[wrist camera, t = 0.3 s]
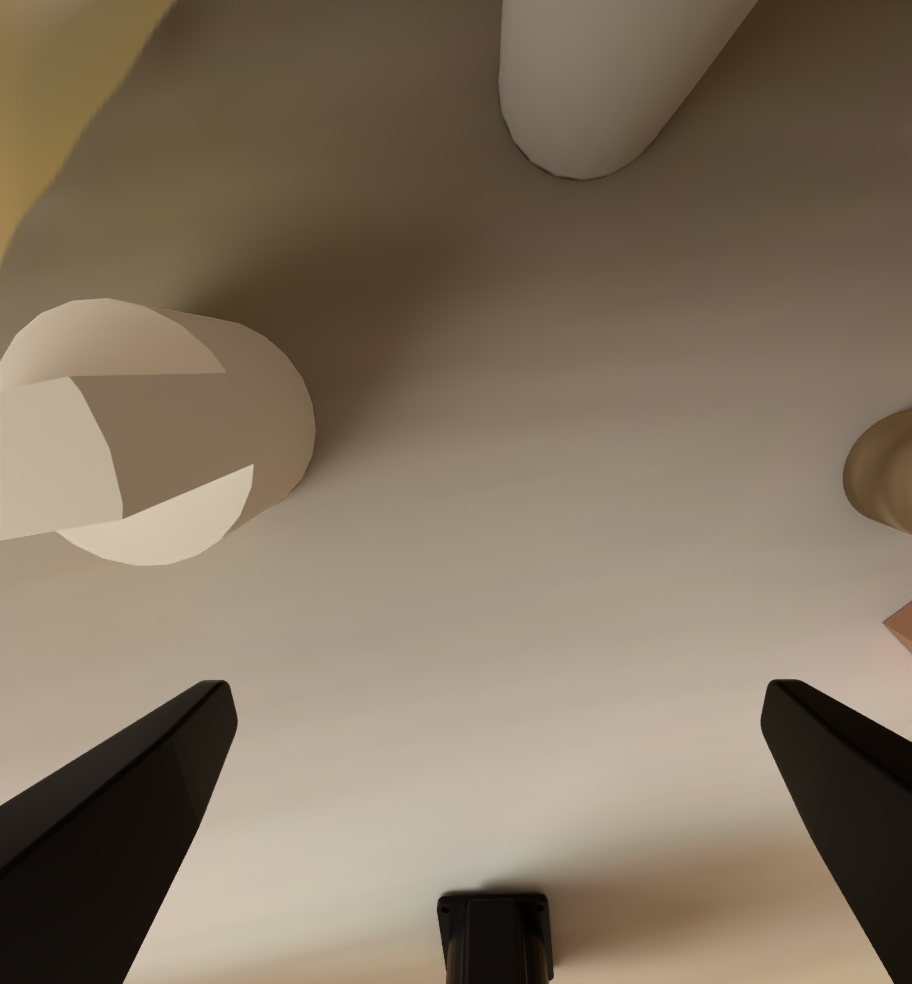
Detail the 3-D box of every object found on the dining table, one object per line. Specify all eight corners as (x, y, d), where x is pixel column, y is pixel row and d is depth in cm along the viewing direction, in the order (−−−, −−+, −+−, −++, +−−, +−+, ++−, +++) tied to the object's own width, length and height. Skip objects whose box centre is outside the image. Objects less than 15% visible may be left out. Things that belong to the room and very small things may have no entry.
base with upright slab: (285, 298, 20) (20, 205, 9) (336, 499, 22) (180, 641, 11) (93, 339, 21) (-384, 305, 9) (161, 528, 23) (-160, 690, 12)
